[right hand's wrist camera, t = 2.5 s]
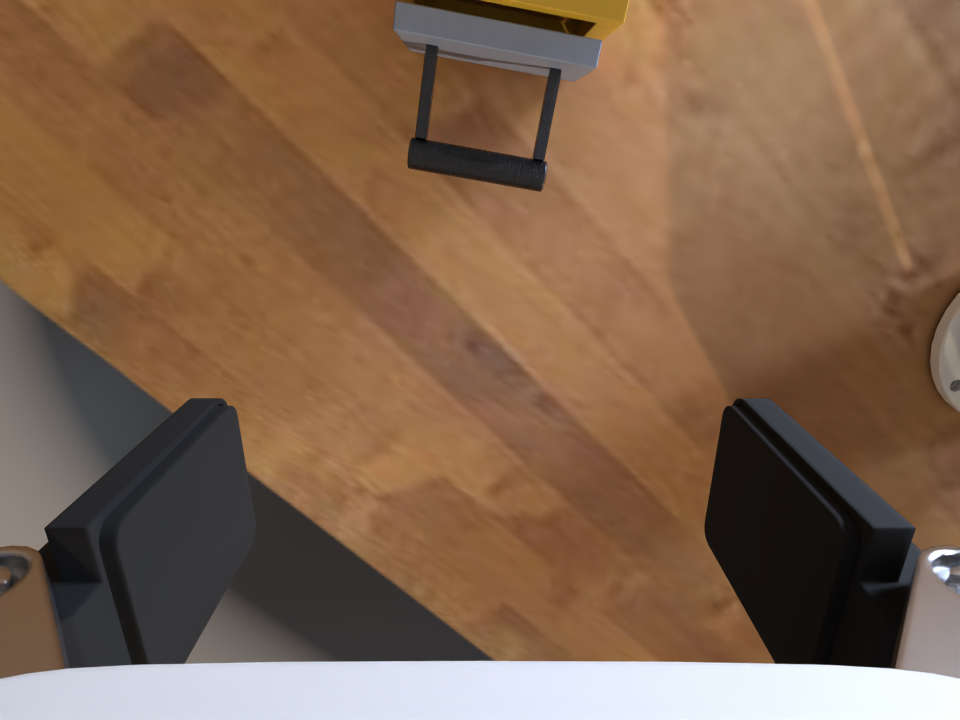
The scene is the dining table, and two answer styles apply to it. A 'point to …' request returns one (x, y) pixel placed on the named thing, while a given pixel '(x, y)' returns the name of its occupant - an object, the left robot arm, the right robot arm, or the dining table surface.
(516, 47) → the drawer
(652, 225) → the dining table surface
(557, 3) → the yellow box orange base
